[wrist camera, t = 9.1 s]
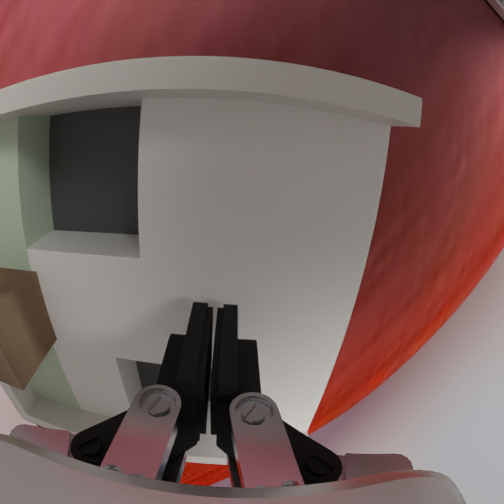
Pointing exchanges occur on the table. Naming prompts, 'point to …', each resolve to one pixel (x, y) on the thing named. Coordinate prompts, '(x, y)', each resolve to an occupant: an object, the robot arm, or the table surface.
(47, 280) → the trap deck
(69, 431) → the robot arm
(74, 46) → the table surface
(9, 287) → the walnut block
